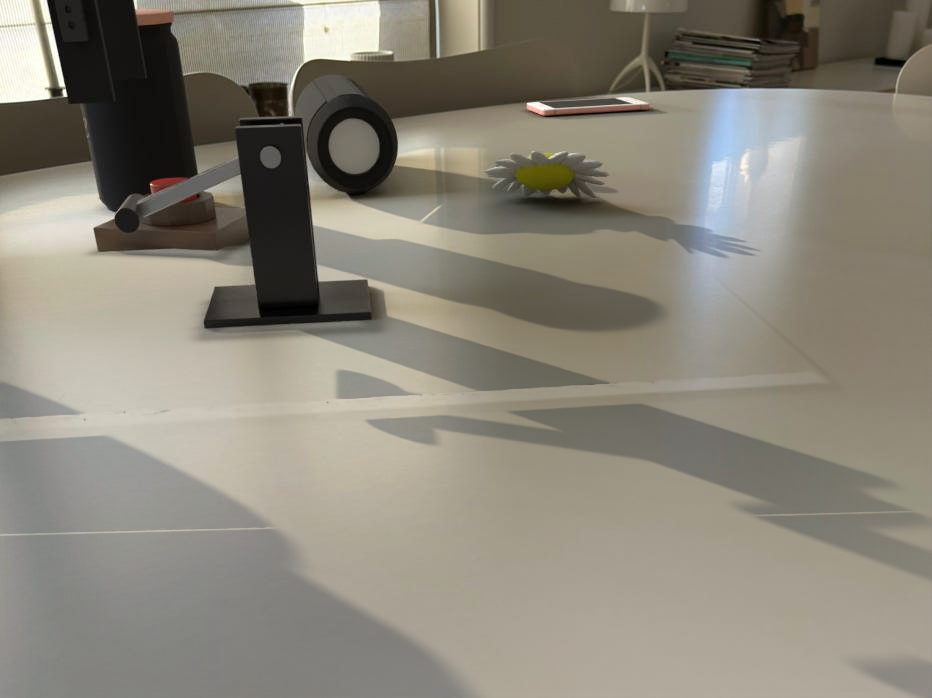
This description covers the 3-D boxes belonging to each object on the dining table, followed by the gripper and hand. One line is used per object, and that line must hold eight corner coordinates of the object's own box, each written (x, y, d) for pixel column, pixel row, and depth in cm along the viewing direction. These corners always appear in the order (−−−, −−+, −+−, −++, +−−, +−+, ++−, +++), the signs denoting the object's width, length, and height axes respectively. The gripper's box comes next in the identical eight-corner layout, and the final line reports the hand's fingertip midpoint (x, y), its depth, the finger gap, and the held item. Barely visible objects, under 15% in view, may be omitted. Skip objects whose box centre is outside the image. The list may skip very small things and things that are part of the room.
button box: (97, 252, 98) (88, 206, 95) (149, 227, 106) (142, 184, 103) (218, 258, 95) (211, 211, 93) (261, 232, 103) (256, 188, 101)
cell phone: (650, 109, 169) (650, 103, 168) (543, 116, 165) (543, 109, 164) (628, 103, 176) (628, 96, 176) (525, 109, 172) (525, 102, 172)
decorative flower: (478, 186, 131) (484, 202, 104) (479, 143, 129) (486, 148, 102) (580, 190, 132) (612, 207, 105) (583, 147, 130) (617, 153, 103)
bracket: (205, 337, 76) (173, 134, 69) (216, 301, 84) (188, 115, 76) (372, 328, 77) (357, 128, 70) (368, 294, 85) (355, 110, 77)
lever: (125, 242, 74) (106, 208, 73) (136, 226, 78) (118, 194, 77) (297, 165, 73) (281, 129, 71) (299, 153, 77) (284, 119, 75)
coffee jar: (146, 192, 121) (114, 8, 111) (222, 199, 117) (195, 9, 107) (79, 211, 113) (37, 15, 103) (157, 219, 109) (122, 16, 99)
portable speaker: (403, 196, 117) (398, 94, 111) (313, 201, 115) (303, 99, 109) (374, 157, 137) (368, 70, 132) (297, 161, 136) (288, 73, 130)
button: (145, 205, 97) (141, 185, 96) (165, 196, 100) (162, 176, 99) (185, 207, 96) (182, 186, 95) (204, 198, 100) (201, 178, 99)
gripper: (49, -395, 49) (141, 112, 61) (132, -295, 70) (188, 69, 82) (-119, -395, 49) (6, 117, 60) (15, -294, 69) (89, 72, 81)
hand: (111, 90), depth 71 cm, fingers open, 13 cm apart
